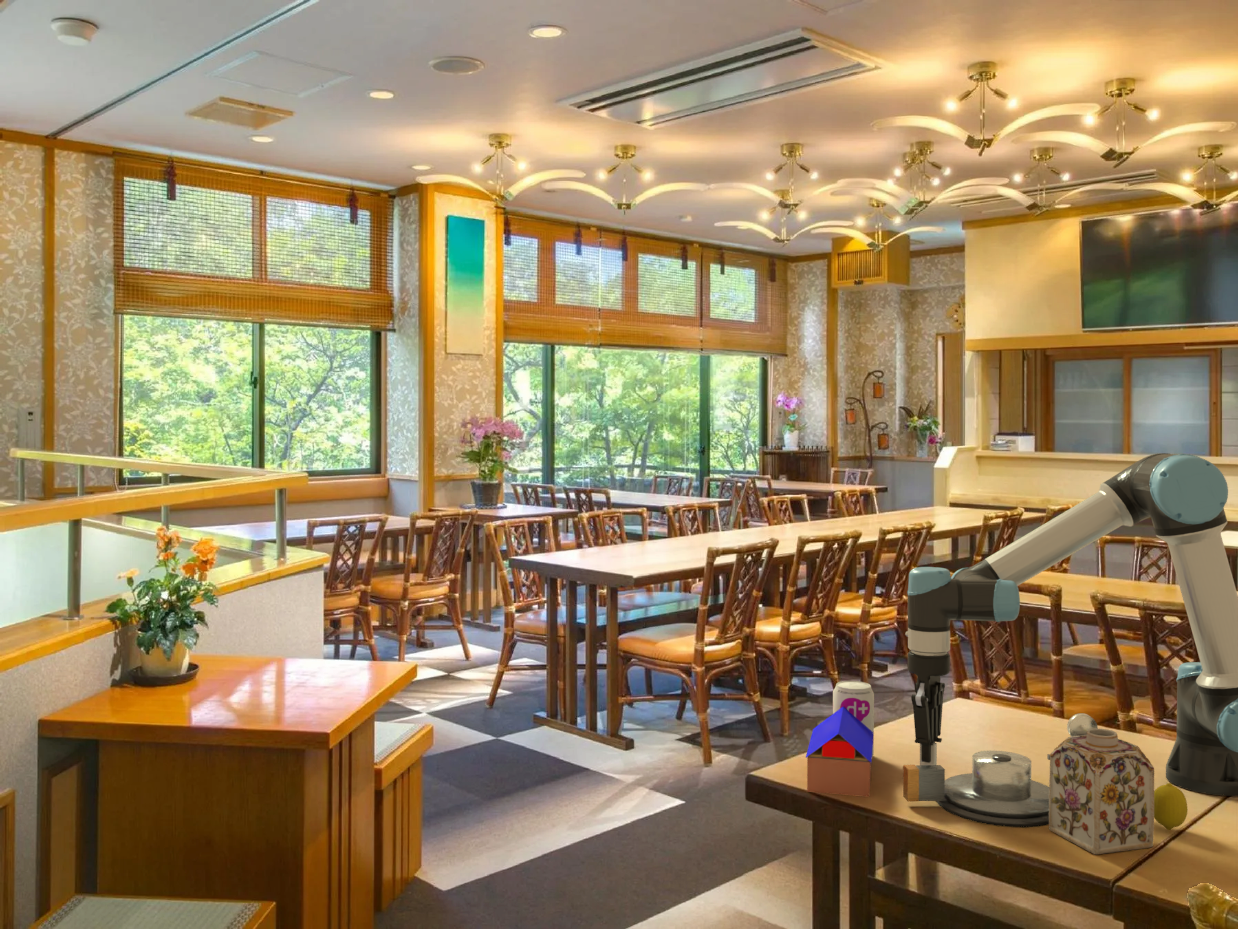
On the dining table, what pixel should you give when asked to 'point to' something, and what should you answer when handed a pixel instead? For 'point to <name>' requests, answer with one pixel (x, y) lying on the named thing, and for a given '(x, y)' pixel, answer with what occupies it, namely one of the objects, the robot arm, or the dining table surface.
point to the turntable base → (994, 817)
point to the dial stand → (1079, 725)
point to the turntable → (968, 793)
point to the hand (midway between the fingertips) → (928, 777)
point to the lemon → (1169, 806)
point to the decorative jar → (1101, 793)
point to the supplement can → (856, 702)
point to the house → (840, 756)
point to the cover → (1001, 775)
